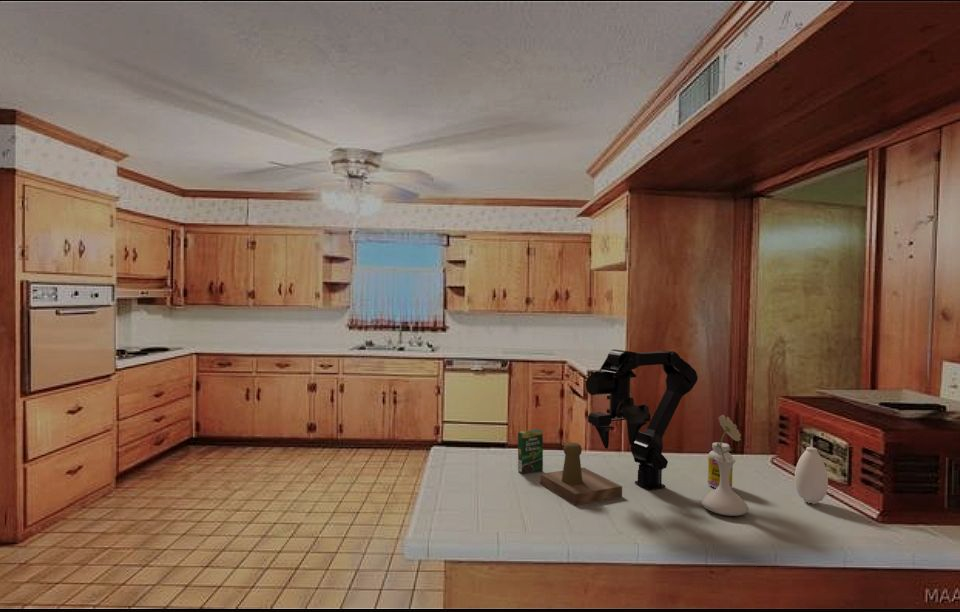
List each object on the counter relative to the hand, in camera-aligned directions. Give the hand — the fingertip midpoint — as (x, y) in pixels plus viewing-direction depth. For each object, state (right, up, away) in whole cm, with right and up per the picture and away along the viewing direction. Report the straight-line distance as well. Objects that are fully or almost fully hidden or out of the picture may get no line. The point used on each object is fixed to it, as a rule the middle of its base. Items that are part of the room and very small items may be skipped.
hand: (619, 446), depth 150 cm
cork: (-14, -10, -1) cm, 17 cm away
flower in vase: (+24, -14, -13) cm, 31 cm away
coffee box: (-24, -13, +16) cm, 32 cm away
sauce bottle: (+52, -14, -7) cm, 54 cm away
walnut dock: (-11, -13, 0) cm, 17 cm away
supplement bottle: (+32, -14, +5) cm, 35 cm away
